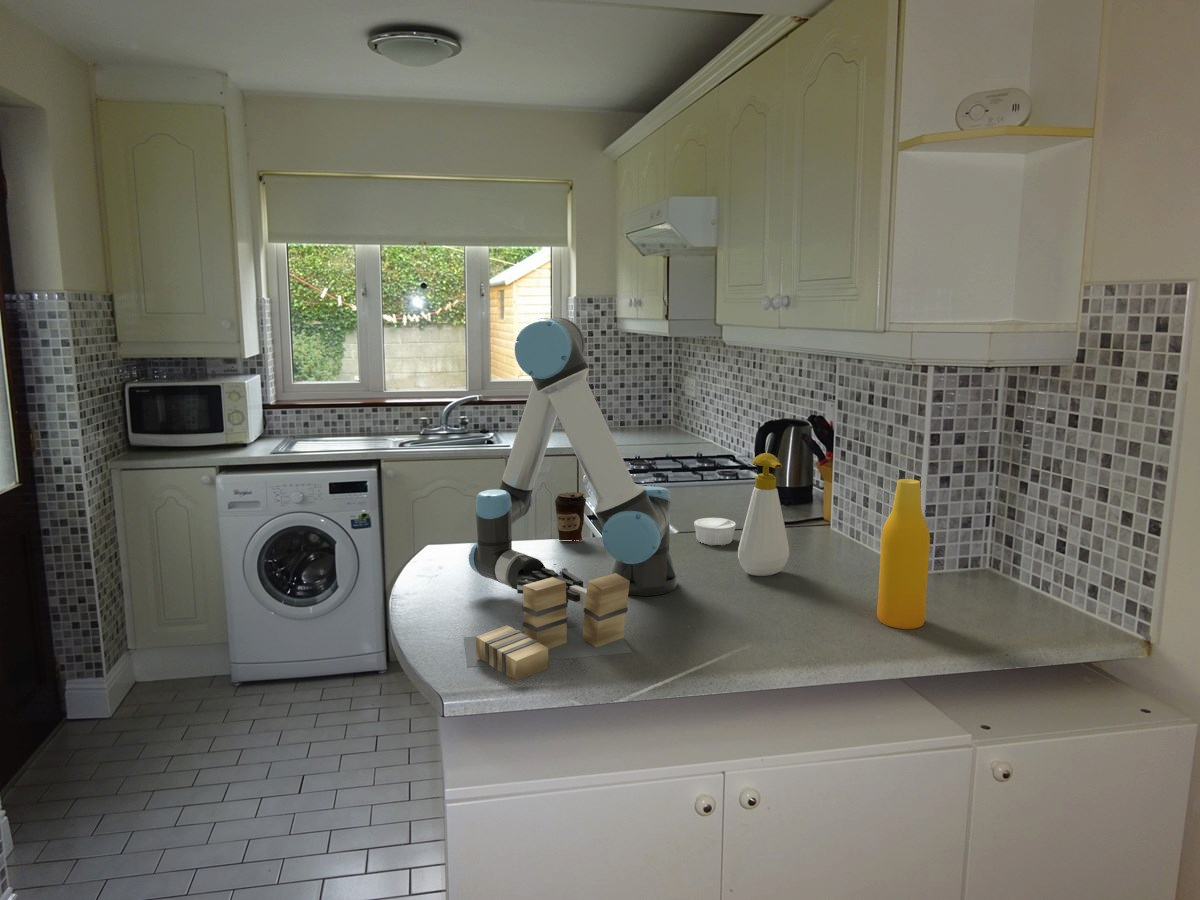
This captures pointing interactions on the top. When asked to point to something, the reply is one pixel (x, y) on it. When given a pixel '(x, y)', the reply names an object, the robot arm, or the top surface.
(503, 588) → the top surface
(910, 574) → the beer bottle
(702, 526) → the ramekin
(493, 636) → the striped wooden block
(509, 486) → the robot arm
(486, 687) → the top surface
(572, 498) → the coffee cup
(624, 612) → the banded wooden block
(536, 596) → the wooden block
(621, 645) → the mat
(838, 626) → the top surface
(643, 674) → the top surface
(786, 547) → the soap bottle
